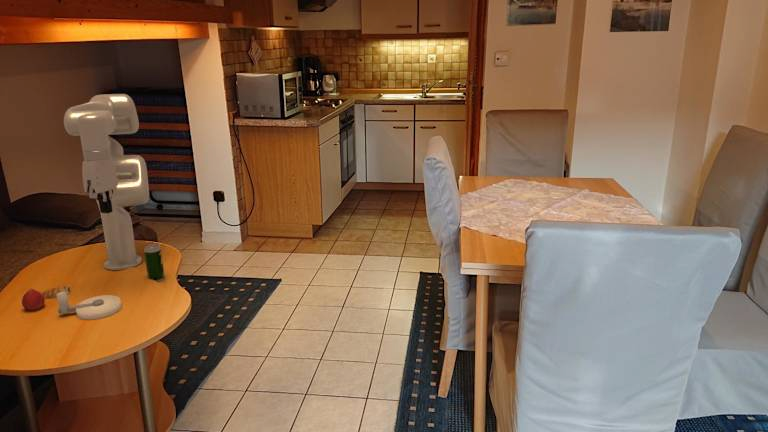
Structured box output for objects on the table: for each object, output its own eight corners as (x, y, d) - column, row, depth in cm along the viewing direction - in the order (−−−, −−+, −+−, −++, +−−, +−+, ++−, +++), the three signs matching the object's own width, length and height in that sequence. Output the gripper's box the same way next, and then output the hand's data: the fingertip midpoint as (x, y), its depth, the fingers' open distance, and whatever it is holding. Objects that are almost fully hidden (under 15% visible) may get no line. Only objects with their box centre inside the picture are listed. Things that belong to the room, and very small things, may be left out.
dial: (122, 298, 171) (119, 278, 169) (119, 315, 160) (116, 294, 158) (63, 306, 165) (59, 285, 163) (56, 325, 155) (51, 303, 153)
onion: (23, 317, 162) (18, 293, 159) (25, 309, 166) (20, 285, 164) (46, 313, 164) (41, 289, 162) (47, 305, 169) (42, 282, 166)
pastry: (36, 305, 169) (34, 294, 168) (39, 297, 175) (37, 286, 174) (70, 300, 173) (68, 289, 172) (72, 291, 179) (70, 281, 178)
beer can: (150, 283, 184) (145, 250, 181) (146, 278, 189) (142, 246, 185) (166, 280, 187) (162, 247, 184) (163, 274, 192) (158, 243, 188)
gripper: (104, 149, 173) (112, 205, 179) (68, 159, 159) (78, 218, 165) (124, 151, 172) (132, 206, 177) (90, 160, 158) (99, 220, 163)
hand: (106, 212), depth 171 cm, fingers closed
